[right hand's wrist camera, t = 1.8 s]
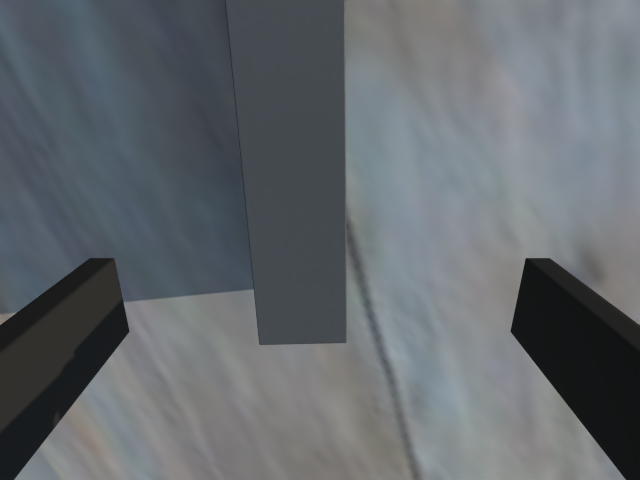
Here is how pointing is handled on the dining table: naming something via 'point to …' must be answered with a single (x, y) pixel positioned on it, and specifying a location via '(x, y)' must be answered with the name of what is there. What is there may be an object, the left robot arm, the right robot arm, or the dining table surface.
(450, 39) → the dining table surface
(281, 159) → the beam
